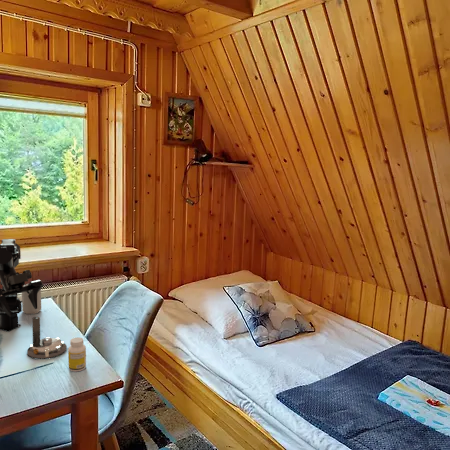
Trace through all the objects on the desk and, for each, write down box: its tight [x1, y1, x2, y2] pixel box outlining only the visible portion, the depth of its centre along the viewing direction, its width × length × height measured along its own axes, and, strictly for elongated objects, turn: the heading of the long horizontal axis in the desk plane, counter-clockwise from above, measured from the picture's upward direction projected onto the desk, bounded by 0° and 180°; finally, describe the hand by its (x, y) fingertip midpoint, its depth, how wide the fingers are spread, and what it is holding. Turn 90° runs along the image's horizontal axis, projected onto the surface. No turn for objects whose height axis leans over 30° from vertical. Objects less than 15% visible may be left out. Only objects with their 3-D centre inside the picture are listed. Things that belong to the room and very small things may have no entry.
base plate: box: [26, 342, 68, 360], centre depth 150 cm, size 13×13×4 cm
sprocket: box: [29, 316, 65, 354], centre depth 149 cm, size 11×11×12 cm
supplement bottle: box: [67, 337, 87, 373], centre depth 139 cm, size 5×5×10 cm
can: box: [21, 283, 42, 315], centre depth 184 cm, size 8×8×12 cm
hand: (24, 312), depth 152 cm, fingers open, 9 cm apart
